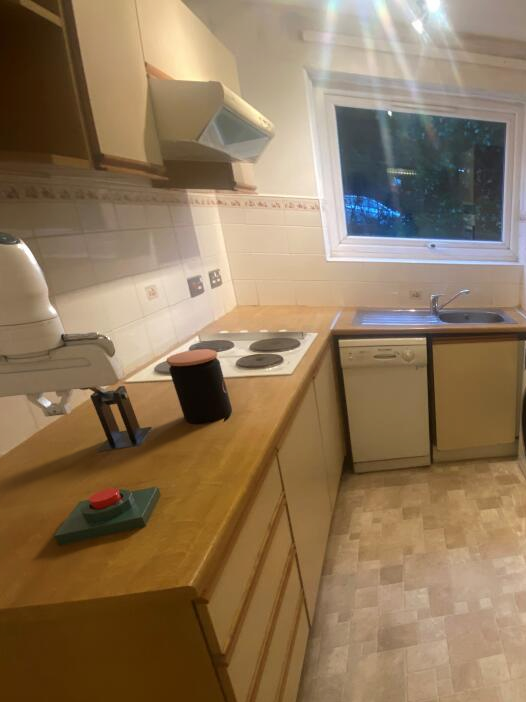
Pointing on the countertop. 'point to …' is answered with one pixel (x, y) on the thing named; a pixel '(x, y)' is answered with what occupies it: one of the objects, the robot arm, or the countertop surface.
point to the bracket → (114, 436)
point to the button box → (109, 516)
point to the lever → (103, 395)
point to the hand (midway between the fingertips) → (59, 414)
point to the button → (105, 498)
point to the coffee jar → (200, 386)
